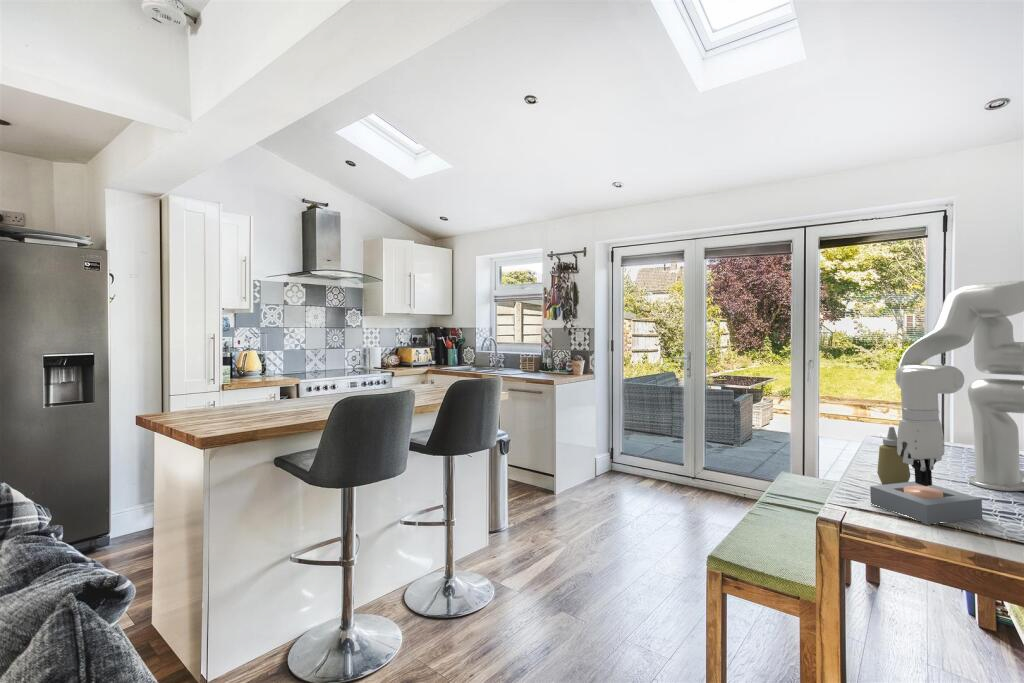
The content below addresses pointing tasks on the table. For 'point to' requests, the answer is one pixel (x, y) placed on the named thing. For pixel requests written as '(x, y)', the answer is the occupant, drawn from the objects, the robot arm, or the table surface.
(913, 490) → the button
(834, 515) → the table surface
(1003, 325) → the robot arm
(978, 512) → the button base
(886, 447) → the squeeze bottle
